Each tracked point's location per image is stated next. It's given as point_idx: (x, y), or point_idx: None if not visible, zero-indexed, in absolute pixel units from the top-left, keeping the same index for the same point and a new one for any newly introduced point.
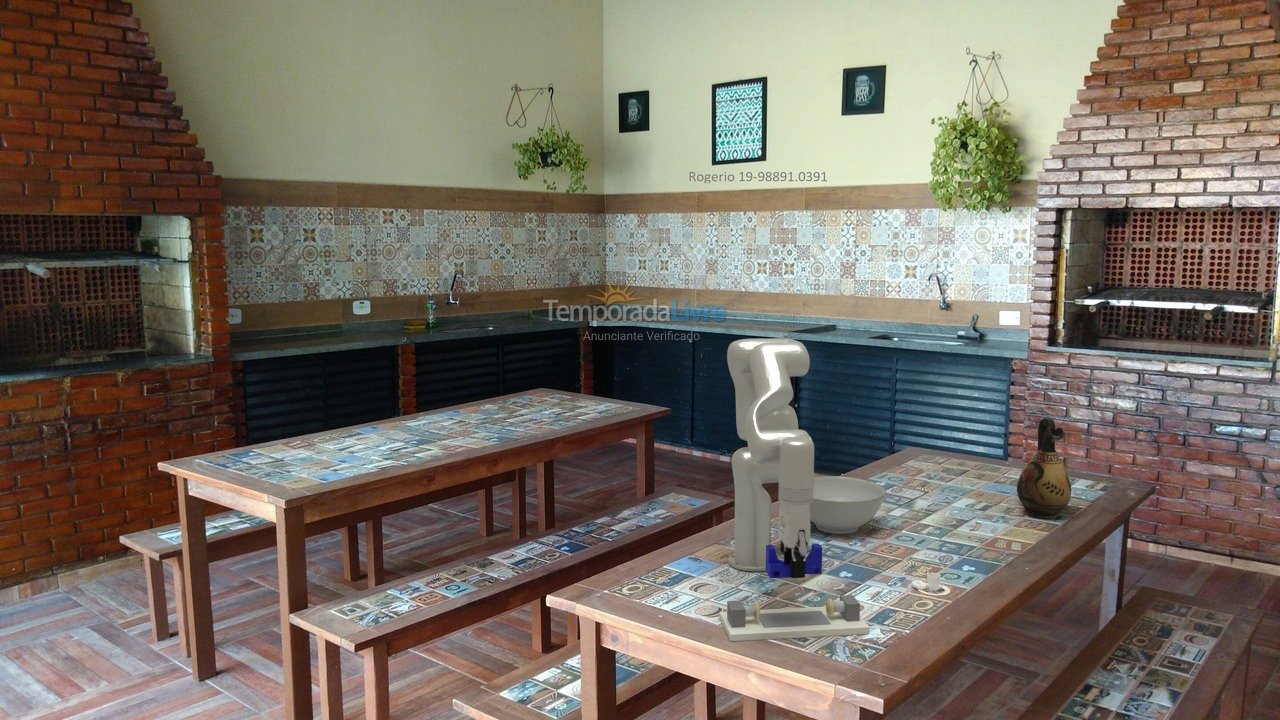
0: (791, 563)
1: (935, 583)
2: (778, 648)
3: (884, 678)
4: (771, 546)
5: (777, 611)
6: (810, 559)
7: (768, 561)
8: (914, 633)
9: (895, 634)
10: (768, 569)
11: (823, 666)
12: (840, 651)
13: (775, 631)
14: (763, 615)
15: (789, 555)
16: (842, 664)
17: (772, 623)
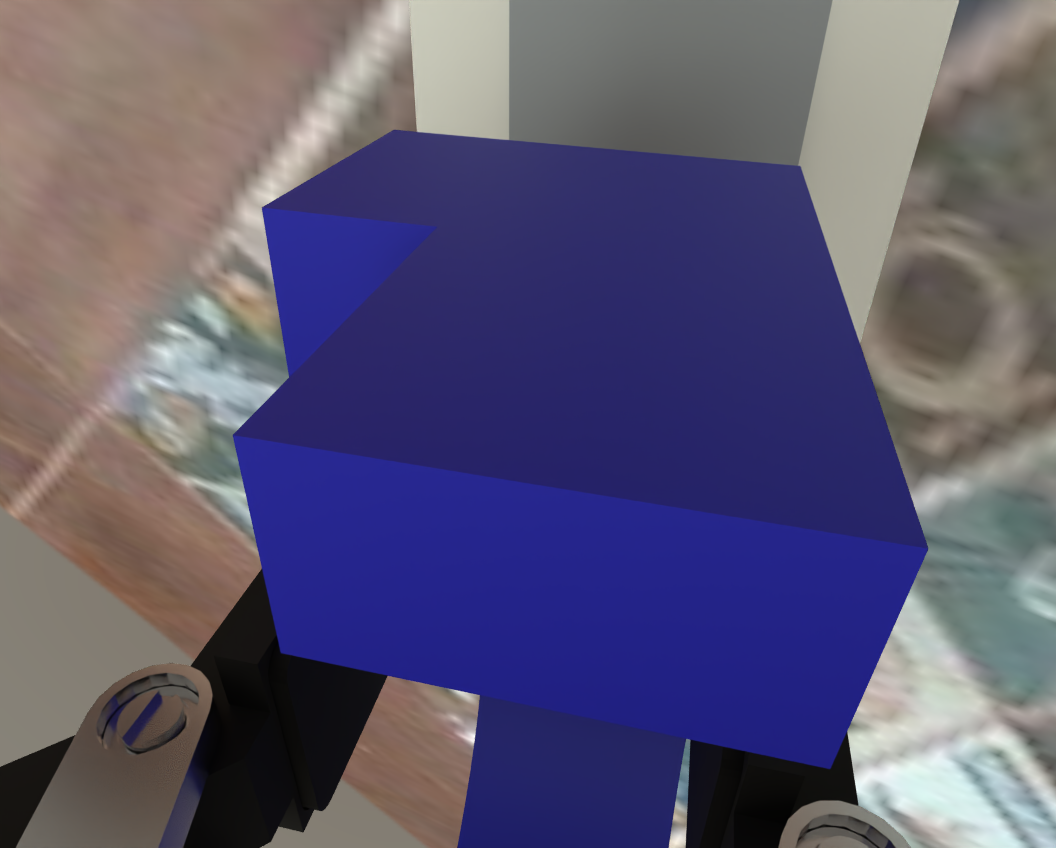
0: (246, 618)
1: None
2: (270, 8)
3: (12, 455)
4: (669, 674)
5: (837, 215)
6: None
7: (470, 239)
8: (447, 746)
9: (443, 689)
10: (507, 175)
11: (62, 232)
12: (256, 397)
13: (426, 49)
14: (776, 35)
15: (706, 762)
16: (107, 342)
17: (572, 70)
